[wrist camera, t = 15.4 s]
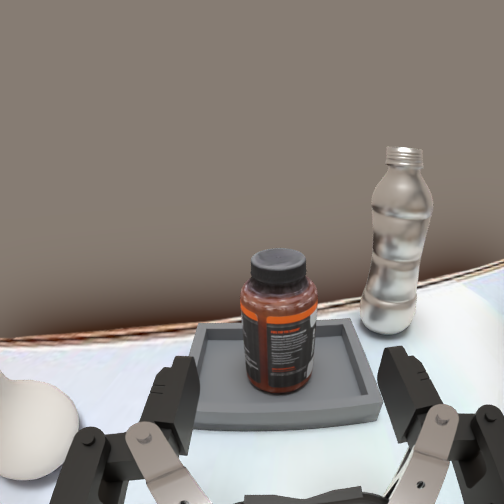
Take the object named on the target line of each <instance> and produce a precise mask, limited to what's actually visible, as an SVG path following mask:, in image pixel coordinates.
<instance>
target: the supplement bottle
mask: <svg viewBox="0 0 504 504" xmlns="http://www.w3.org/2000/svg"><path fill="white" fill-rule="evenodd" d="M251 275H252V277H251V278H250V279H249V280H248V281H247V282H246V283H245V284H244V285H243V287H242V289H241V295H240V296H241V297H240V302H241V314H242V315H241V316H242V328H243V340H244V352H245V364H246V371H247V376H248V378H249V380H250V381H251V383H252V384H253V385H254V386H256V387H257V388H259V389H261V390H264V391H267V392H270V393H286V392H291V391H294V390H297V389H299V388H300V387H302V386H303V385H305V384H306V382H307V381H308V380H309V379H310V377H311V374H312V368H313V360H314V347H315V332H316V318H317V299H318V295H317V289H316V286H315V284H314V283H313V281H311V280H310V279H309V278H307V277H306V276H305V275H306V258H305V256H304V255H303V254H302V253H301V252H299V251H296V250H292V249H285V248H275V249H268V250H263V251H260V252H258V253H256V254H255V255H253V257H252V258H251Z"/></svg>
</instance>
